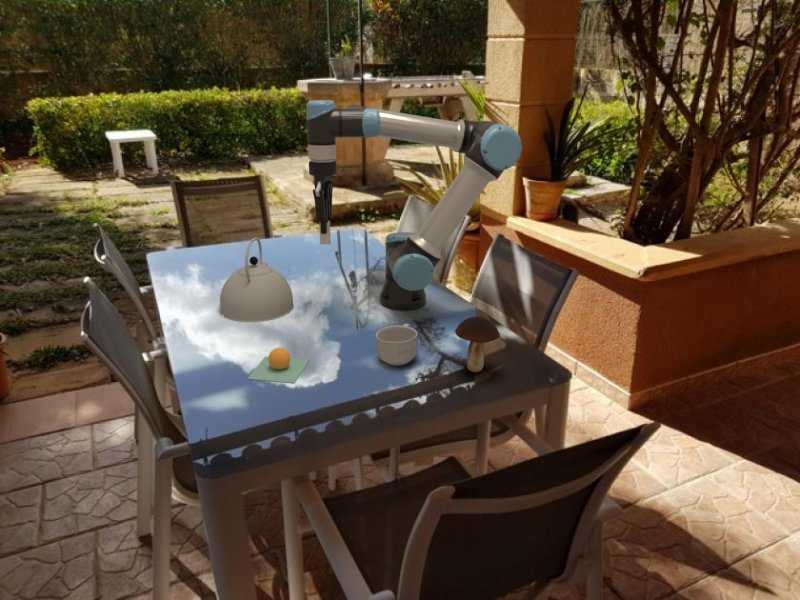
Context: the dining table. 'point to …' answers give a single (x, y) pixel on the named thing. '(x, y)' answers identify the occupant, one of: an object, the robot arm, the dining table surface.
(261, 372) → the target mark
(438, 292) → the dining table surface
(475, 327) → the decorative mushroom
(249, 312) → the kettle
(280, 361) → the ball
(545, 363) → the dining table surface
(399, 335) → the teacup
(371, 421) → the dining table surface
